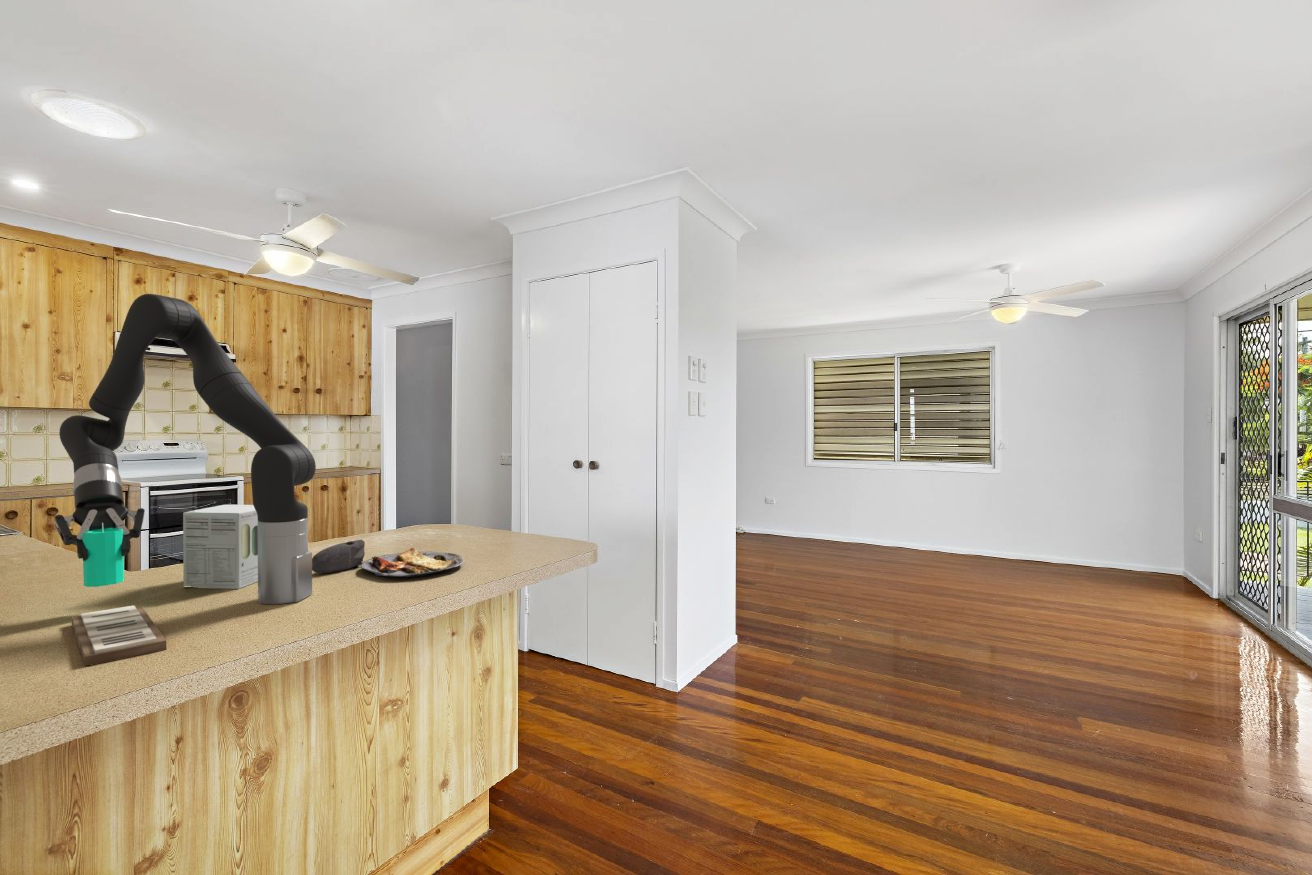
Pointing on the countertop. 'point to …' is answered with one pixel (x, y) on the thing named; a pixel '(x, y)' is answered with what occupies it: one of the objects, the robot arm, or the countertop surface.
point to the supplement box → (220, 547)
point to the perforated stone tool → (339, 557)
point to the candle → (103, 557)
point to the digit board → (116, 634)
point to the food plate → (411, 563)
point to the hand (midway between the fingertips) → (105, 555)
